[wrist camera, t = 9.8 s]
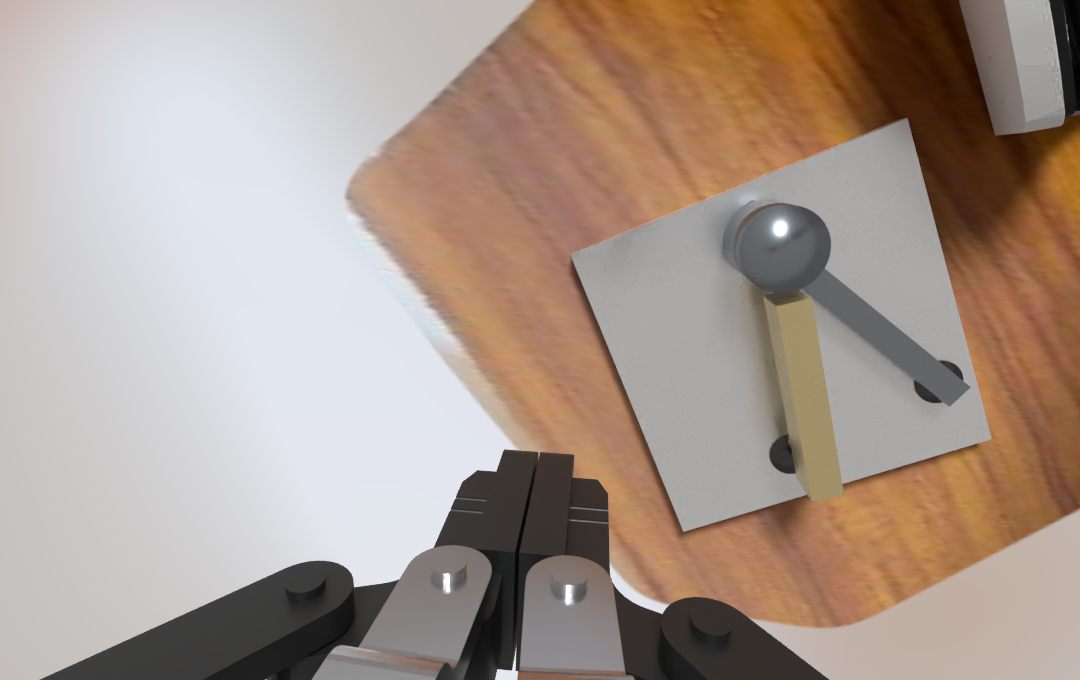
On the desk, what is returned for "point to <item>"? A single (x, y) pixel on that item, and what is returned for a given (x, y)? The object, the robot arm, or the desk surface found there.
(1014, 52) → the light grey curved piece
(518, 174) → the desk surface
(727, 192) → the mounting plate
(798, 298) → the leg
